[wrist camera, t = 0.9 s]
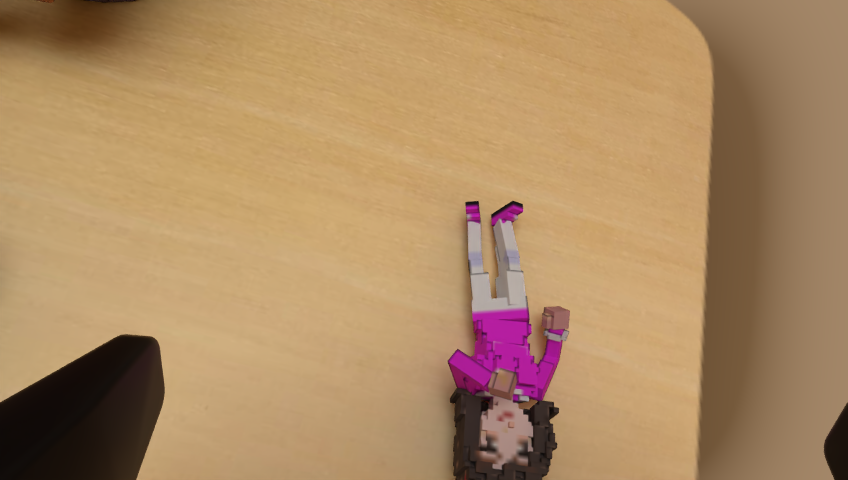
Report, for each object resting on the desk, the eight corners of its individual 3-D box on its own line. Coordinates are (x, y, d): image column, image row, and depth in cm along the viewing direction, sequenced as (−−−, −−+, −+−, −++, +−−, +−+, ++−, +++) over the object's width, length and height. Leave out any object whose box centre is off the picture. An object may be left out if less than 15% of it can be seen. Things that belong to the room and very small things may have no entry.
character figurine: (422, 224, 27) (426, 515, 22) (449, 162, 22) (463, 509, 17) (539, 235, 28) (571, 514, 23) (588, 178, 24) (642, 508, 18)
